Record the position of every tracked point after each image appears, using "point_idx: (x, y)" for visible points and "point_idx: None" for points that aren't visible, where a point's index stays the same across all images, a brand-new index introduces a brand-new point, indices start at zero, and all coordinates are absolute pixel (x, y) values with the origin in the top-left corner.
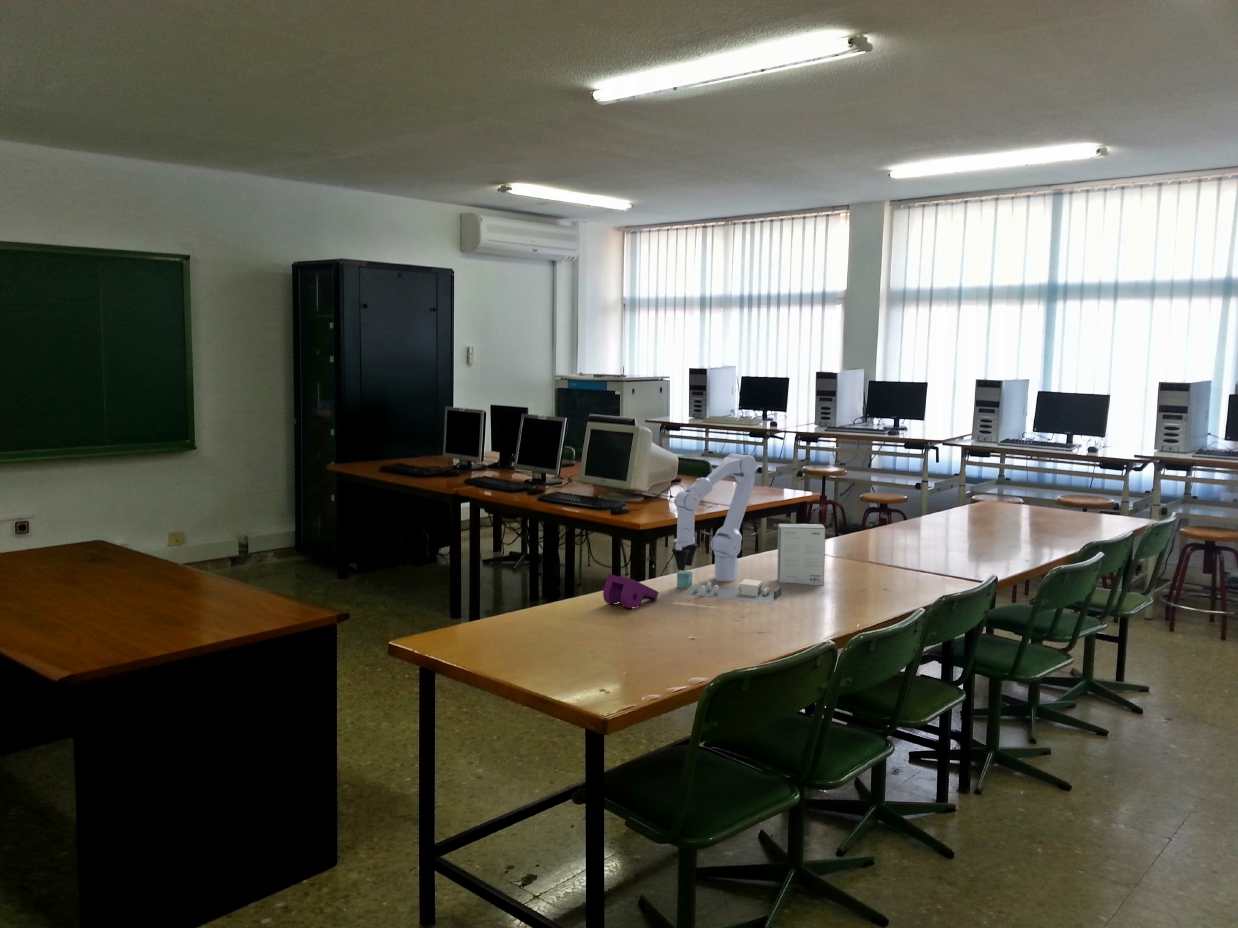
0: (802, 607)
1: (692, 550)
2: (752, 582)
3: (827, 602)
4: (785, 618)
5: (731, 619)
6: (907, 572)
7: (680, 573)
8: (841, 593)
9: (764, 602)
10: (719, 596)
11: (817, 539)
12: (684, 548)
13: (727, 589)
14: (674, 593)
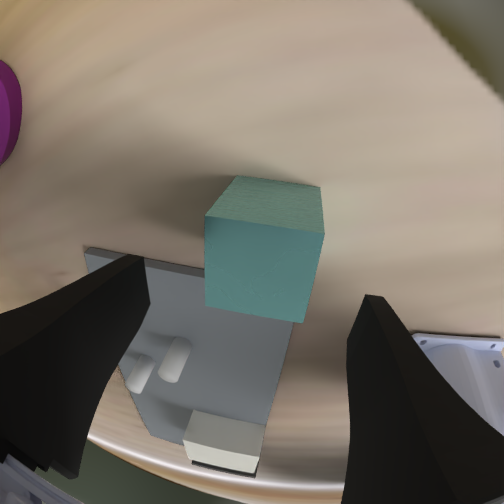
0: (180, 456)
1: (352, 492)
2: (220, 460)
3: (237, 479)
4: (97, 422)
5: None
6: None
7: (205, 244)
8: (312, 491)
9: (151, 429)
10: (132, 366)
11: None
12: (408, 475)
13: (244, 394)
14: (107, 195)
